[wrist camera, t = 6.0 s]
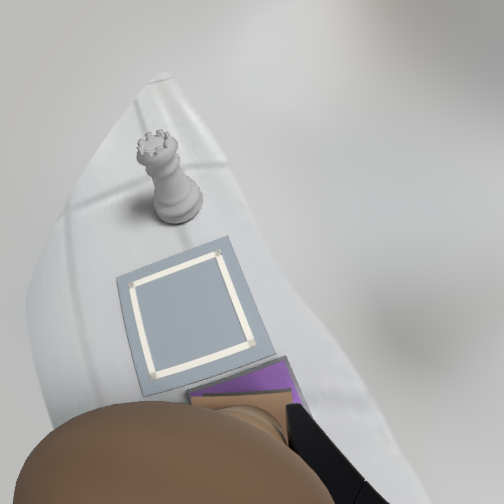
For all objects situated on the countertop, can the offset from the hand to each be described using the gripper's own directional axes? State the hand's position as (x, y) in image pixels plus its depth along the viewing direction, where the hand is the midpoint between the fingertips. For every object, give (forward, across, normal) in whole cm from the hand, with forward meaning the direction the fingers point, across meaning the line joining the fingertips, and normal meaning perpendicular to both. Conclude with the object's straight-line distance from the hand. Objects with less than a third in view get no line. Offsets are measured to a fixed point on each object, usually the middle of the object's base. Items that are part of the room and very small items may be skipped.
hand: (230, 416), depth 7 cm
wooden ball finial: (+4, 0, +6) cm, 7 cm away
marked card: (+13, +4, +4) cm, 14 cm away
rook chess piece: (+20, +6, -4) cm, 22 cm away
